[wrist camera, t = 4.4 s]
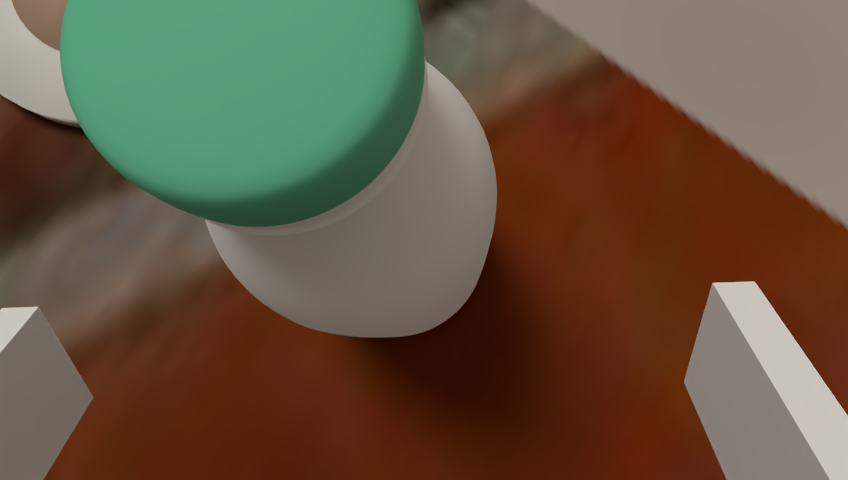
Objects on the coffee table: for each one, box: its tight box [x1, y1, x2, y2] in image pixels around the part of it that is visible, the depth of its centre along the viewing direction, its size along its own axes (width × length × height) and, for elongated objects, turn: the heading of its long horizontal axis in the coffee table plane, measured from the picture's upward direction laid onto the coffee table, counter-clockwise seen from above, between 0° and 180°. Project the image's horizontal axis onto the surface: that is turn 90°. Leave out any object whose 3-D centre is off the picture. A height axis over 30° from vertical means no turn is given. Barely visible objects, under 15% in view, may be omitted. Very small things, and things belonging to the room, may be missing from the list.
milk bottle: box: [60, 0, 497, 337], centre depth 17 cm, size 8×8×20 cm
